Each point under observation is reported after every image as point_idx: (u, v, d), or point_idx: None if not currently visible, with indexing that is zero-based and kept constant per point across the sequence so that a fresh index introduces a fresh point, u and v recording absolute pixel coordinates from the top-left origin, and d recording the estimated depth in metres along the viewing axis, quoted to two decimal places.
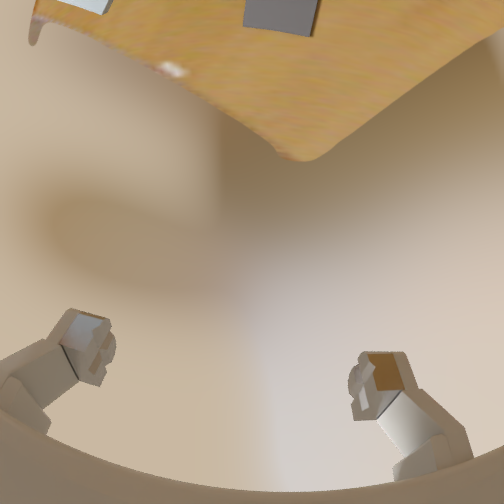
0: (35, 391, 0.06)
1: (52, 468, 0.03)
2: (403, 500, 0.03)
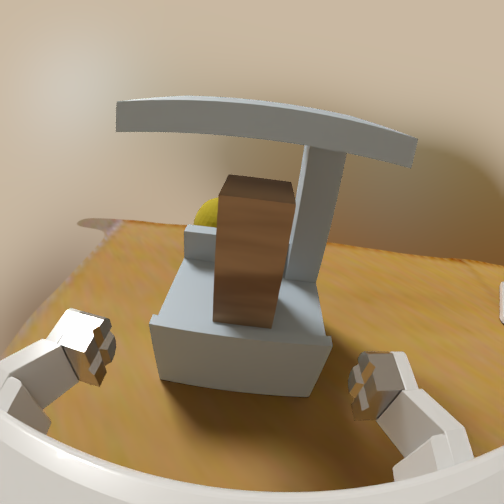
0: (35, 391, 0.06)
1: (52, 468, 0.03)
2: (403, 500, 0.03)
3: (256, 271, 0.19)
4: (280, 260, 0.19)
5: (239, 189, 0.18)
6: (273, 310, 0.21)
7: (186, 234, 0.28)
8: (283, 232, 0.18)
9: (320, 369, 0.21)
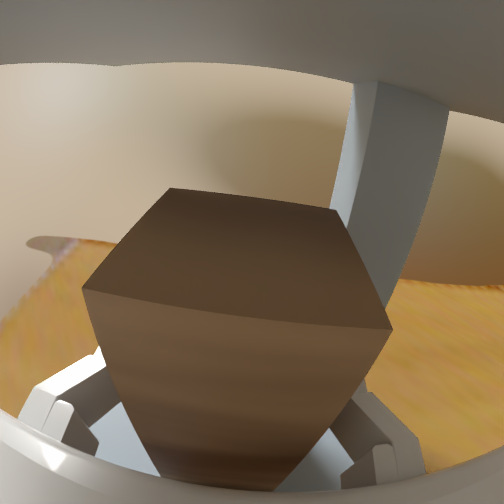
0: (82, 411, 0.06)
1: (52, 468, 0.03)
2: (403, 500, 0.03)
3: (239, 452, 0.06)
4: (305, 441, 0.06)
5: (175, 246, 0.05)
6: (277, 482, 0.08)
7: None
8: (326, 399, 0.05)
9: None
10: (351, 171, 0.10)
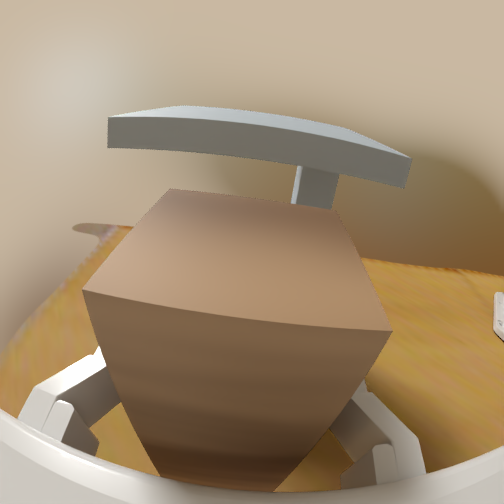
0: (82, 411, 0.06)
1: (52, 468, 0.03)
2: (403, 500, 0.03)
3: (239, 452, 0.06)
4: (305, 441, 0.06)
5: (175, 247, 0.05)
6: (277, 482, 0.08)
7: None
8: (326, 400, 0.05)
9: None
10: (298, 180, 0.23)
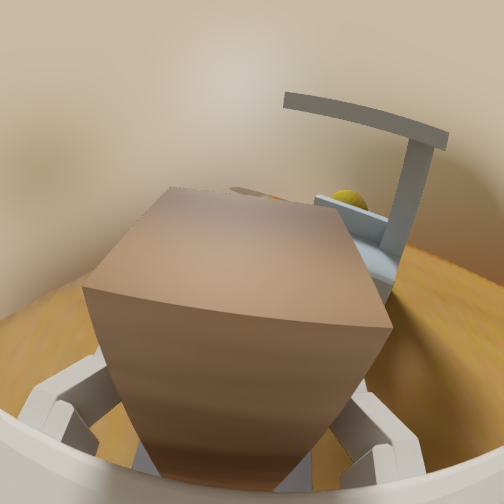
0: (82, 411, 0.06)
1: (52, 468, 0.03)
2: (403, 500, 0.03)
3: (239, 451, 0.06)
4: (306, 440, 0.06)
5: (175, 245, 0.05)
6: (277, 482, 0.08)
7: (316, 199, 0.37)
8: (326, 398, 0.05)
9: None
10: None
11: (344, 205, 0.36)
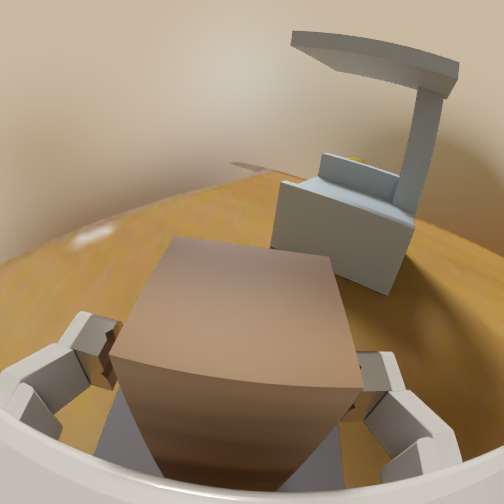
0: (46, 396, 0.06)
1: (52, 468, 0.03)
2: (403, 500, 0.03)
3: (239, 466, 0.07)
4: (295, 459, 0.06)
5: (184, 309, 0.06)
6: (273, 490, 0.09)
7: (323, 156, 0.34)
8: (311, 431, 0.05)
9: (402, 257, 0.23)
10: None
11: (353, 161, 0.33)
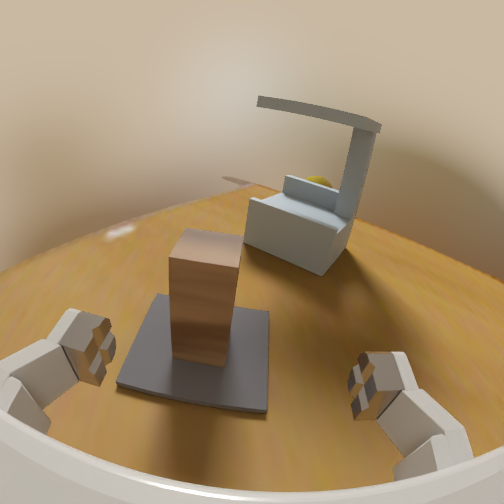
0: (35, 391, 0.06)
1: (52, 468, 0.03)
2: (403, 500, 0.03)
3: (206, 321, 0.21)
4: (227, 313, 0.20)
5: (189, 247, 0.20)
6: (224, 353, 0.22)
7: (286, 177, 0.48)
8: (228, 290, 0.19)
9: (329, 249, 0.37)
10: None
11: (307, 181, 0.47)
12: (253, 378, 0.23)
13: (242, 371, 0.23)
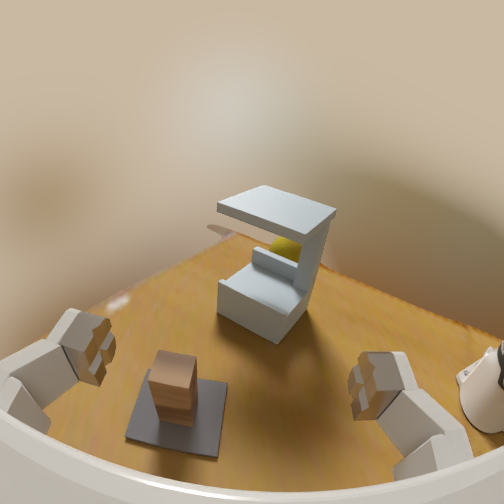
0: (35, 391, 0.06)
1: (52, 468, 0.03)
2: (403, 500, 0.03)
3: (176, 407, 0.30)
4: (187, 405, 0.29)
5: (160, 371, 0.29)
6: (190, 421, 0.31)
7: (253, 251, 0.57)
8: (185, 396, 0.28)
9: (281, 327, 0.46)
10: None
11: (272, 255, 0.56)
12: (210, 435, 0.32)
13: (203, 430, 0.32)
